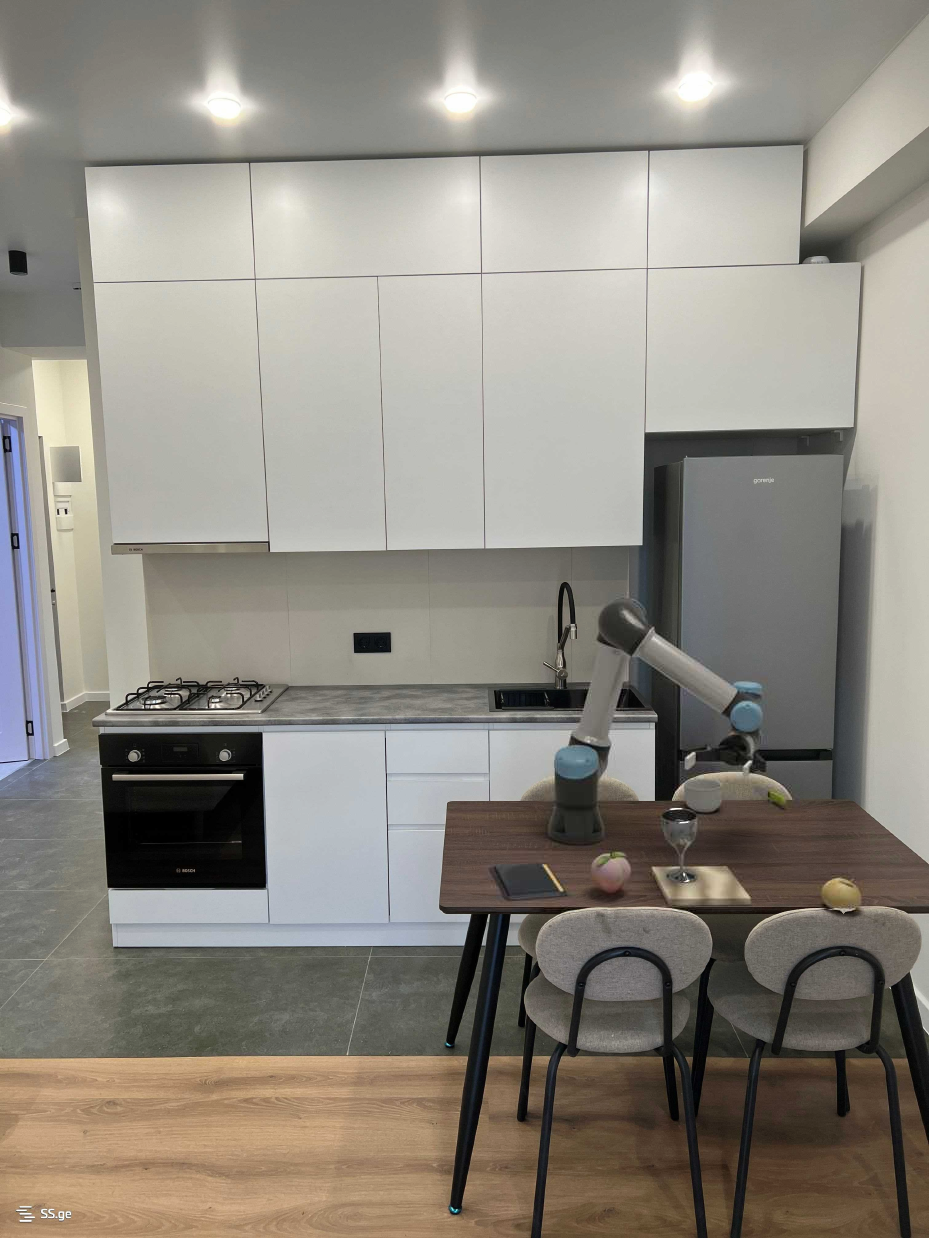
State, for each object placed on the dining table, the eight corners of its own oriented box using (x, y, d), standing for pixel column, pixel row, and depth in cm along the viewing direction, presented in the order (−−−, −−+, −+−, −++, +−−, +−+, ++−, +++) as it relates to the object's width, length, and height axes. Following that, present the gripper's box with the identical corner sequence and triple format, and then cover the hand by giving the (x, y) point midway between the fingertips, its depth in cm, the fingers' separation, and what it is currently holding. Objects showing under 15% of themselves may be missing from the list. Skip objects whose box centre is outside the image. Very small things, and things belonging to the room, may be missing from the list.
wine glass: (703, 882, 199) (700, 821, 196) (668, 884, 199) (665, 823, 196) (695, 866, 207) (692, 807, 204) (661, 868, 207) (658, 809, 204)
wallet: (488, 862, 214) (548, 858, 216) (488, 869, 214) (548, 865, 216) (503, 896, 194) (569, 891, 196) (503, 904, 194) (569, 899, 196)
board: (668, 905, 191) (669, 898, 191) (651, 872, 209) (651, 866, 209) (750, 904, 191) (750, 898, 191) (726, 872, 209) (726, 866, 209)
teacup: (723, 816, 249) (723, 789, 248) (684, 814, 251) (684, 787, 250) (719, 801, 262) (719, 775, 262) (682, 799, 265) (682, 773, 264)
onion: (821, 913, 187) (822, 881, 186) (820, 898, 194) (821, 867, 193) (862, 918, 184) (863, 886, 183) (859, 903, 191) (860, 872, 191)
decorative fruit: (607, 881, 204) (607, 840, 203) (636, 891, 198) (636, 849, 197) (582, 893, 198) (582, 851, 197) (611, 904, 192) (611, 860, 191)
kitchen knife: (749, 791, 275) (749, 782, 275) (753, 791, 276) (753, 781, 276) (782, 808, 253) (782, 797, 253) (786, 807, 253) (786, 797, 253)
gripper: (785, 770, 218) (768, 792, 200) (687, 755, 230) (662, 775, 212) (787, 741, 217) (770, 760, 199) (688, 727, 230) (664, 745, 211)
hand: (714, 768), depth 206 cm, fingers open, 13 cm apart
